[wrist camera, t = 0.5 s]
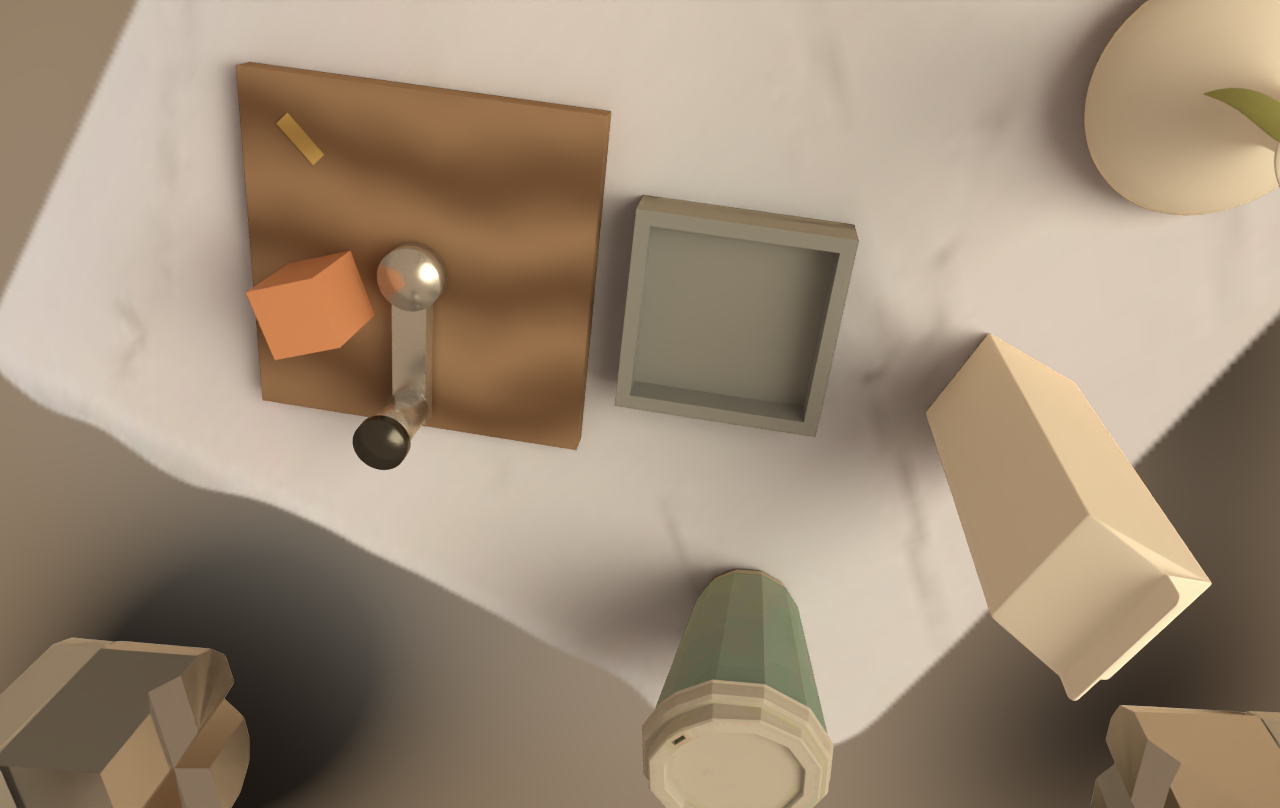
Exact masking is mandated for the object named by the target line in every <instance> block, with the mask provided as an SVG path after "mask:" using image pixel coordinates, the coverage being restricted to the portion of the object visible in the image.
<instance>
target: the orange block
mask: <svg viewBox="0 0 1280 808" xmlns="http://www.w3.org/2000/svg"><path fill="white" fill-rule="evenodd" d="M246 295H247V297H248V299H249V302H250V304H251V306H252V308H253V311H254V313H255V315H256V318H257V320H258V322H259V325H260V327H261V329H262V332H263V334H264V336H265V339H266V341H267V343H268V345H269V348H270V350H271V352H272V355H273V357H274V359H275V360H279V359H284V358H289V357H294V356H299V355H305V354H310V353H315V352H320V351H326V350H331V349H336V348H340V347H341V346H342V345H343V344H345V343H346V342H347V341H348V340H349V339H350V338H351V337H352V336H353V335H354V334H355V333H356V332H357V331H358V330H359V329H360V328H361V327H363V326H364V325H365V324H366V323H367V322H368V321H369V320H370V319H371V318H372V317H373V316H374V312H373V309H372V307H371V304H370V301H369V299H368V296H367V293H366V291H365V288H364V285H363V283H362V280H361V277H360V275H359V272H358V269H357V267H356V264H355V261H354V259H353V256H352V254H351V251H345V252H341V253H336V254H331V255H327V256H322V257H317V258H313V259H308V260H303V261H299V262H294V263H289V264H287V265H286V266H284V267H283V268H281V269H280V270H278V271H277V272H275V273H274V274H272V275H271V276H269V277H268V278H266V279H265V280H263V281H262V282H260V283H259V284H257V285H256V286H254V287H253V288H251V289H250V290H248V291H247V292H246Z"/></svg>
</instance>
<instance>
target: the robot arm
mask: <svg viewBox="0 0 1280 808" xmlns="http://www.w3.org/2000/svg"><path fill="white" fill-rule="evenodd" d="M233 683H234V680H233V677H232V674H231V671H230V668H229V665H228V662H227V659H226V656H225V655H224V654H222V653H219V652H217V651H215V650H212V649H206V648H194V647H182V646H171V645H159V644H148V643H137V642H126V641H118V642H111V641H101V640H91V639H80V638H70V639H67V640H64V641H61V642H59V643H56V644H53V645H52V646H51V647H50V648H49V649H48V650H47V651H46V652H45V653H44V654H43V655H42V656H40V657H39V658H38V659H37V660H36V661H35V662H34V663H33V664H32V665H31V666H30V667H29V668H28V669H27V670H26V671H25V672H24V673H23V674H22V675H21V676H20V677H18V678H17V679H16V681H14V682H13V683H12V684H11V685H10V686H9V687H8V688H7V689H6V690H5V691H4V692H3V693H2V694H1V695H0V808H231V807H232V805H233V803H234V801H235V800H236V798H237V797H238V795H239V793H240V791H241V787H242V784H243V781H244V777H245V774H246V770H247V767H248V763H249V735H248V731H247V727H246V723H245V719H244V717H243V716H242V715H241V714H240V713H239V712H238V711H237V710H236V709H235V708H233V707H232V706H231V705H230V704H229V703H228V702H227V701H226V700H225V699H224V698H225V696H226V695H227V693H228V691H229V690H230V688H231V686H232V685H233ZM1106 742H1107V744H1108V747H1109V749H1110V752H1111V754H1112V756H1113V759H1114V761H1115V764H1114V765H1113V766H1112V767H1111V768H1109V769H1108V770H1107V771H1105V772H1104V773H1103V774H1101V775H1100V776H1099V777H1097V778H1096V782H1095V788H1094V793H1093V798H1092V803H1091V808H1280V713H1277V712H1255V711H1248V712H1246V713H1242V712H1236V711H1217V710H1200V709H1181V708H1163V707H1144V706H1127V705H1120V706H1119V708H1118V709H1117V710H1116V712H1115V713H1114V714H1113V716H1112V717H1111V721H1110V725H1109V729H1108V733H1107V736H1106Z"/></svg>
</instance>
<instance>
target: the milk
mask: <svg viewBox="0 0 1280 808" xmlns="http://www.w3.org/2000/svg"><path fill="white" fill-rule="evenodd" d="M926 416H927V419H928V422H929V425H930V428H931V431H932V434H933V438H934V441H935V444H936V447H937V450H938V453H939V456H940V459H941V462H942V465H943V469H944V472H945V475H946V478H947V481H948V484H949V487H950V490H951V493H952V496H953V499H954V503H955V506H956V509H957V512H958V515H959V518H960V521H961V524H962V527H963V530H964V533H965V537H966V540H967V543H968V546H969V549H970V552H971V555H972V558H973V561H974V564H975V568H976V571H977V574H978V577H979V580H980V583H981V586H982V589H983V592H984V595H985V598H986V602H987V605H988V608H989V611H990V614H991V616H992V617H993V619H994V620H995V621H997V622H998V623H999V624H1000V625H1001V626H1002V627H1003V628H1005V629H1006V630H1007V631H1008V632H1009V633H1010V634H1012V635H1013V636H1014V637H1015V638H1016V639H1017V640H1019V641H1020V642H1021V643H1022V644H1023V645H1024V646H1025V647H1027V648H1028V649H1029V650H1030V651H1031V652H1032V653H1033V654H1035V655H1036V656H1037V657H1038V658H1039V659H1040V660H1042V661H1043V662H1044V663H1045V664H1046V665H1047V666H1048V667H1050V668H1051V669H1052V670H1053V671H1054V672H1055V673H1057V674H1058V675H1059V676H1060V678H1061V680H1062V683H1063V685H1064V688H1065V691H1066V693H1067V696H1068V697H1069V698H1070V699H1071V700H1078V699H1079V698H1080V697H1081V696H1082V695H1084V694H1085V693H1086V692H1087V691H1088V690H1089V689H1090V688H1091V687H1092V686H1093V685H1095V683H1097V682H1098V681H1099V680H1100V679H1103V680H1106V679H1109V678H1110V677H1111V676H1112V675H1113V674H1115V673H1116V672H1117V671H1118V670H1119V669H1120V668H1121V667H1122V666H1123V665H1124V664H1126V663H1127V662H1128V661H1129V660H1130V659H1131V658H1132V657H1133V656H1134V655H1135V654H1136V653H1137V652H1139V651H1140V650H1141V649H1142V648H1143V647H1144V646H1145V645H1146V644H1147V643H1148V642H1149V641H1151V640H1152V639H1153V638H1154V637H1155V636H1156V635H1157V634H1158V633H1159V632H1160V631H1161V630H1162V629H1164V628H1165V627H1166V626H1167V625H1168V624H1169V623H1170V622H1171V621H1172V620H1173V619H1174V618H1175V617H1177V616H1178V615H1179V614H1180V613H1181V612H1182V611H1183V610H1184V609H1185V608H1186V607H1187V606H1189V605H1190V604H1191V603H1192V602H1193V601H1194V600H1195V599H1196V598H1197V597H1198V596H1199V595H1201V594H1202V593H1203V592H1204V591H1205V590H1206V589H1207V588H1208V587H1209V586H1210V585H1211V582H1210V580H1209V579H1208V577H1207V576H1206V574H1205V573H1204V571H1203V570H1202V568H1201V567H1200V565H1199V564H1198V562H1197V561H1196V559H1195V558H1194V556H1193V555H1192V554H1191V552H1190V551H1189V549H1188V548H1187V546H1186V545H1185V543H1184V542H1183V540H1182V539H1181V537H1180V536H1179V534H1178V533H1177V532H1176V530H1175V529H1174V527H1173V526H1172V524H1171V523H1170V521H1169V520H1168V518H1167V517H1166V516H1165V514H1164V513H1163V511H1162V510H1161V508H1160V507H1159V505H1158V504H1157V502H1156V501H1155V499H1154V498H1153V496H1152V495H1151V493H1150V492H1149V491H1148V489H1147V488H1146V486H1145V485H1144V483H1143V482H1142V480H1141V479H1140V477H1139V476H1138V474H1137V473H1136V472H1135V470H1134V469H1133V467H1132V466H1131V464H1130V463H1129V461H1128V460H1127V458H1126V457H1125V455H1124V454H1123V452H1122V451H1121V449H1120V448H1119V447H1118V445H1117V444H1116V442H1115V441H1114V439H1113V438H1112V436H1111V435H1110V433H1109V432H1108V430H1107V429H1106V427H1105V426H1104V425H1103V423H1102V422H1101V420H1100V419H1099V417H1098V416H1097V414H1096V413H1095V411H1094V410H1093V408H1092V407H1091V406H1090V404H1089V403H1088V401H1087V400H1086V398H1085V397H1084V395H1083V394H1082V392H1081V391H1080V389H1079V388H1078V386H1077V385H1076V384H1075V383H1074V382H1073V381H1071V380H1069V379H1068V378H1066V377H1064V376H1062V375H1061V374H1059V373H1057V372H1055V371H1054V370H1052V369H1050V368H1049V367H1047V366H1045V365H1043V364H1042V363H1040V362H1038V361H1037V360H1035V359H1033V358H1031V357H1030V356H1028V355H1026V354H1024V353H1023V352H1021V351H1019V350H1018V349H1016V348H1014V347H1012V346H1011V345H1009V344H1007V343H1006V342H1004V341H1002V340H1000V339H999V338H997V337H995V336H994V335H992V334H988V335H987V336H986V337H985V339H984V340H983V341H982V342H981V344H980V345H979V346H978V347H977V349H976V350H975V351H974V352H973V354H972V355H971V356H970V357H969V359H968V360H967V361H966V362H965V364H964V365H963V366H962V367H961V369H960V370H959V371H958V373H957V374H956V375H955V376H954V378H953V379H952V380H951V381H950V383H949V384H948V385H947V386H946V388H945V389H944V390H943V391H942V393H941V394H940V395H939V396H938V398H937V399H936V400H935V401H934V403H933V404H932V405H931V406H930V408H929V409H928V410H927V412H926Z"/></svg>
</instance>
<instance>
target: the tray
mask: <svg viewBox="0 0 1280 808" xmlns="http://www.w3.org/2000/svg"><path fill="white" fill-rule="evenodd" d="M858 242H859V239H858V236H857V232H856V229H855V225H852V224H845V223H838V222H831V221H823V220H816V219H809V218H802V217H795V216H788V215H781V214H774V213H767V212H760V211H753V210H746V209H739V208H732V207H724V206H717V205H710V204H703V203H696V202H689V201H682V200H675V199H668V198H661V197H654V196H647V195H643V197H642V199H641V201H640V203H639V205H638V207H637V209H636V217H635V226H634V235H633V244H632V253H631V262H630V271H629V280H628V289H627V299H626V308H625V317H624V326H623V335H622V344H621V353H620V362H619V372H618V381H617V390H616V399H615V406H620V407H627V408H633V409H639V410H646V411H652V412H659V413H665V414H671V415H678V416H684V417H691V418H697V419H703V420H710V421H716V422H723V423H729V424H736V425H742V426H748V427H755V428H761V429H768V430H774V431H780V432H787V433H793V434H800V435H806V436H813V437H815V436H816V432H817V427H818V423H819V418H820V414H821V409H822V405H823V400H824V396H825V391H826V387H827V382H828V378H829V373H830V368H831V364H832V359H833V355H834V350H835V346H836V341H837V337H838V332H839V328H840V323H841V319H842V314H843V310H844V305H845V301H846V296H847V292H848V287H849V283H850V278H851V274H852V269H853V265H854V260H855V256H856V251H857V247H858Z"/></svg>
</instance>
